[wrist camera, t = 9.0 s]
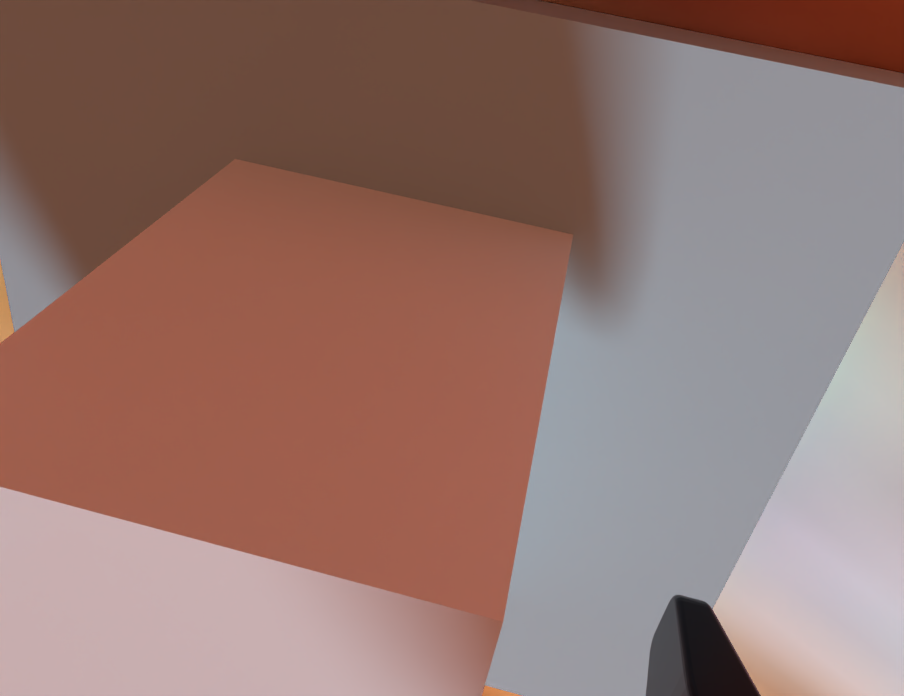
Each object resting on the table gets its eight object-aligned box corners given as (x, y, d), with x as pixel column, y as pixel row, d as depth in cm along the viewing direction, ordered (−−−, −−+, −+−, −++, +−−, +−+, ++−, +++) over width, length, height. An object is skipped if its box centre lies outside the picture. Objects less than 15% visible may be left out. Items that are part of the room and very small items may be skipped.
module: (573, 233, 10) (503, 622, 5) (480, 593, 14) (389, 1008, 9) (234, 159, 10) (-137, 451, 5) (237, 528, 14) (22, 892, 9)
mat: (951, 83, 9) (975, 102, 8) (648, 692, 16) (649, 730, 15) (-25, -113, 10) (-71, -109, 9) (83, 539, 17) (60, 567, 16)
